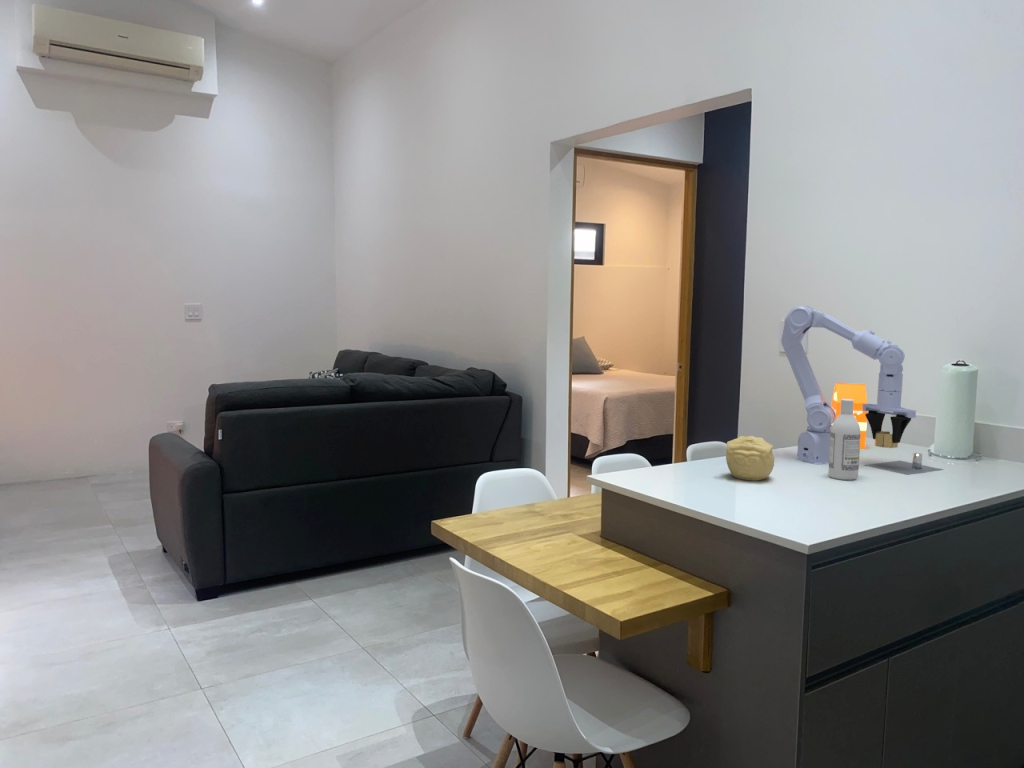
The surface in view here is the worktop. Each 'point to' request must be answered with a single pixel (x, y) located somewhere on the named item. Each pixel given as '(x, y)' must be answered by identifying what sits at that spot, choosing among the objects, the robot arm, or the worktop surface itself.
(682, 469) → the worktop surface
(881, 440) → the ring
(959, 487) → the worktop surface
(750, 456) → the sculpture
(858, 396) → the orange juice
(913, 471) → the mat
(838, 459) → the bath foam
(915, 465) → the piston post
